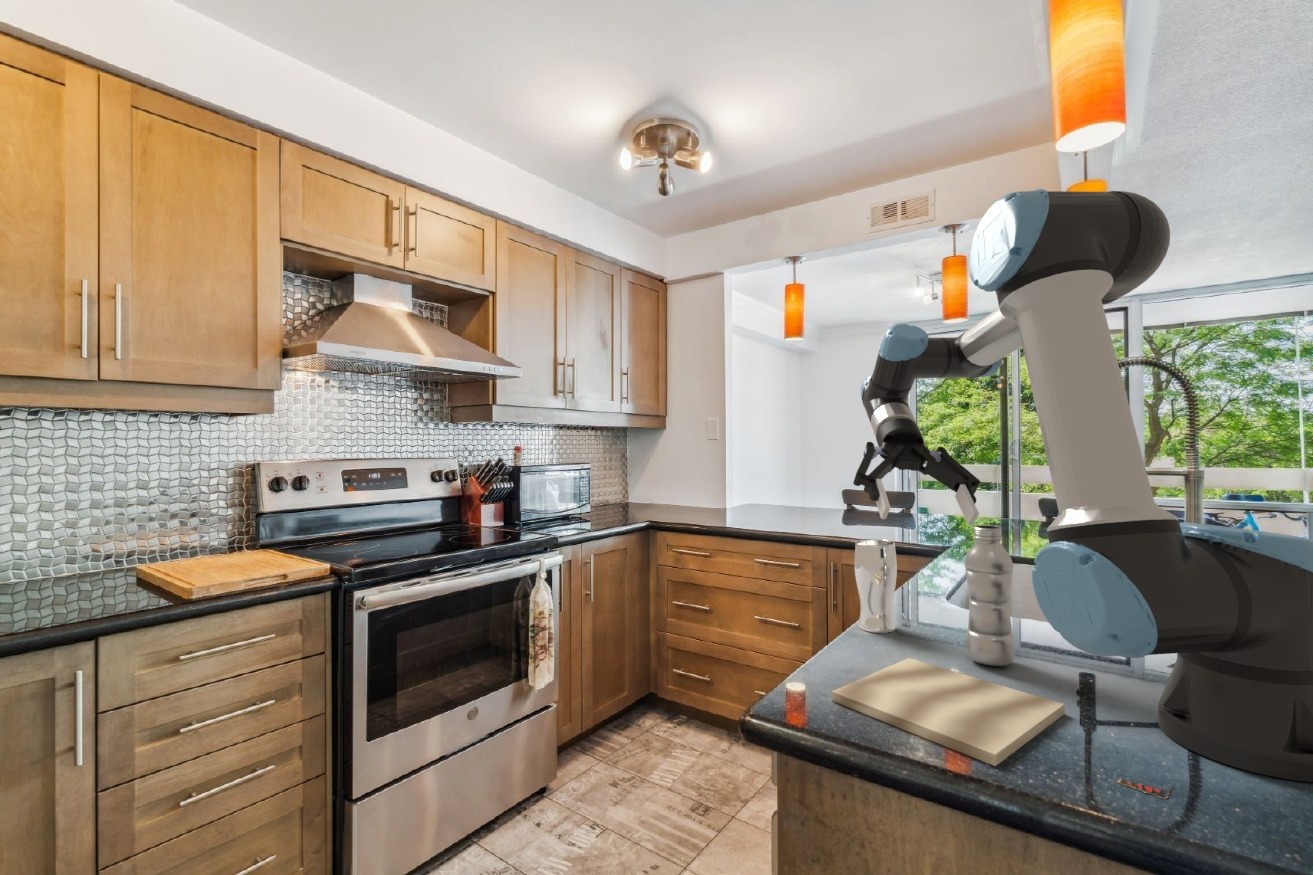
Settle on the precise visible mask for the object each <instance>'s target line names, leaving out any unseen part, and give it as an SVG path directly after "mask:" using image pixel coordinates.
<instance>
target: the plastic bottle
mask: <svg viewBox="0 0 1313 875" xmlns="http://www.w3.org/2000/svg"><path fill="white" fill-rule="evenodd" d="M1002 534H1003V533H1002V527H1001V526H999V525H991V524H978V525H973V535H972V536H973V537H972V539H973V540H975V541H974V542H975V543H974V544H972V546H971V547H970V548H969V550H968V551H967V553H966V554H965V557H964V560H963V562H964V563H963V564H964V569H965V570H964V571H965V575H966V581H967V590H968V591H967V592H968V597H969V598H968V599H969V600H968V602H969V605H968V606H969V608H968V610H969V611H968V622H967V623H968V624H967V629H966V635H965V647H966V652H967V654H968V656H969V657H970V658H971V660H972V661H974V662H977V663H979V664H981V665H985V666H991V667H1006V666H1009V665H1010V664H1011V663H1012V662H1014V661H1013V660H1014V659H1015V654H1016V649H1017V648H1016V642H1015V637H1014V634H1013V629H1012V621H1011V610H1010V607H1011V606H1010V601H1011V587H1012V586H1011V585H1012V580H1013V571H1014V563H1013V560H1012V557H1011V556H1010V554H1009V553H1008V551H1007V550H1006V549H1005V547H1004V546H1003V545H1002V543H1001V542H1002V541H1003V535H1002Z"/></svg>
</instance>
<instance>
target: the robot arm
mask: <svg viewBox="0 0 1313 875" xmlns="http://www.w3.org/2000/svg"><path fill="white" fill-rule="evenodd" d="M1169 224H1170V223H1169V221H1168V219H1167V216H1166V214H1165V212H1163V210H1162V209H1161V207H1159V205H1157V203H1156V202H1154V201H1152V200H1151V199H1149V198H1148V197H1146V196H1143V195H1141V194H1139V193H1136V192H1130V191H1125V190H1110V191H1081V190H1080V191H1078V190H1077V191H1069V190H1068V191H1065V190H1064V191H1060V190H1059V191H1056V190H1055V191H1048V190H1045V189H1042V188H1037V189H1034V190H1028V191H1027V190H1025V191H1024V190H1023V191H1013V192H1010V193H1007V194H1005V195H1003V196H1002V197H1000V198H998V199H997V200H996V201H995V202H994V203H993V204H991V205H990V207H988V209H987V210H986V211H985V214H984V215H983V216H982V218H981V219H980V221H979V223H978V225H977V227H976V229H975V231H974V232H975V233H974V235H973V237H972V240H971V244H970V249H969V254H968V272H969V276H970V279H971V281H972V284H973V285H974V286H976V287H977V288H979V289H980V290H983V291H984V292H988V293H990V292H995V294H996V299H997V303H998V307H997V308H996V309H994V310H993V311H992V312H990V313H989V314H988V315H986V316H984V317H983V318H982V319H981V320H980V321H978V322H977V323H975V324H974V325H973V326H971V327H970V328H969V329H967V330H966V331H964V332H963V333H962V334H960V335H958V336H956V337H955V336H954V337H953V336H951V337H949V336H948V337H929V335H928V333H927V332H926V331H925V330H924V329H922V328H920V327H918V326H916V325H909V324H906V323H899V324H895V325H892V326H890V327H888V329H887V330H886V331H885V335H884V336H883V338H882V341H881V344H880V346H879V349H878V354H877V356H876V357H877V358H876V360H875V366H874V368H873V372H872V374H869V375H868V377H866V378H865V380H864V381H863V382H862V384H861V387H860V395H861V396H860V397H861V401H862V404H863V407H864V409H865V412H866V415H867V417H868V419H869V420H868V421H869V423H870V425H871V428H872V431H873V434H874V437H875V439H876V443H877V446H875V444H874V443H873V442H872V441H867V442H866V443H865V444H866V445H865V447H864V451H863V457H862V460H861V463H860V464H859V466H858V468H857V471H856V473H855V477H854V479H853V482H852V483H853V485H854V486H855V487H859V486H864V487H863V491H864V492H865V493H867V494H868V498H869V499H870V501H872V502H875V503H876V507H877V511H878V513H879V517H880V519H881V520H887V517H888V515H889V512H890V510H891V505H890V501H889V499H888V495H887V493H886V490H885V487H884V483H883V481H882V479H883V478H884V477H885V476H886V475H887V474H889V473H891V472H892V471H893V470H894V469H895V468H896V469H898V470H900V471H907V470H908V471H915V472H916V471H917V472H919V473H921V474H923V475H924V476H927V475H928V476H930V477H931V478H932V479H934V480H936V481H938V482H939V483H940V484H942V485H944V486H946V487H947V488H948V489H950V490H952V491H953V492H955V495H954V498H955V500H956V502H957V504H958V506H959V508H960V511H961V513H962V515H963V517H964V520H965V521H966V523H967V525H968V526H974V524H975V523H976V520H977V518H978V517H979V515H980V512H979V510H978V508H977V507H976V503H977V498H976V496H975V494H976V492H977V490H978V488H979V486H980V485H981V480H980V479H978V478H977V476H976V475H974V474H973V473H972V472H971V471H969V470H968V469H967V468H966V467H964V465H962V464H961V463H960V462H958V460H956V459H955V458H954V457H953V456H951V455H950V454H949V452H948V451H947V449H946V448H945V447H944V446H938V447H937V449H936V450H935V449H933V450H932V449H931V450H930V449H929V448H928V447H926V445H925V442H924V441H925V440H924V438H923V437H924V436H923V434H922V433H921V431H920V428H919V427H918V424H917V423H918V422H917V421H916V419H915V417H914V415H913V413H912V411H911V408H910V406H909V403H908V397H909V394H910V391H911V390H912V387H913V385H914V382H915V380H916V379H964V378H965V379H967V378H968V379H979V378H986V377H991V376H993V375H994V376H995V374H996V373H997V372H998V371H999V368H1000V367H1002V364H1003V361H1004V360H1003V359H1004V358H1005V357H1006V356H1009V355H1010V354H1012V353H1013V352H1015V351H1017V350H1018V349H1020V348H1021V347H1022V350H1023V351H1022V352H1023V355H1024V356H1023V357H1024V360H1025V364H1026V365H1025V366H1026V369H1027V372H1028V373H1027V374H1028V378H1029V382H1030V387H1031V391H1032V396H1033V397H1032V398H1033V401H1034V405H1035V409H1036V410H1035V411H1036V414H1037V419H1038V424H1039V428H1040V433H1041V437H1042V441H1043V446H1044V452H1045V455H1046V461H1047V464H1048V465H1047V466H1048V470H1049V473H1050V478H1051V482H1052V487H1053V492H1054V497H1055V501H1056V505H1057V509H1058V514H1057V516H1056V518H1055V519H1054V520H1053V521H1052V522H1051V524H1050V525H1048V527H1047V528H1046V531H1047V537H1048V542H1049V544H1047V545H1046V546H1044V547H1043V548H1041V549H1040V550H1039V551H1038V553H1037V554H1036V555H1035V557H1034V560H1033V561H1034V564H1035V566H1033V567H1032V568H1031V583H1032V588H1033V593H1034V596H1035V599H1036V601H1037V604H1038V606H1039V608H1040V610H1041V612H1042V614H1043V616H1044V617H1045V619H1046V620H1047V622H1048V623H1049V625H1050V626H1051V627H1052V628H1053V629H1054V630H1055V631H1056V632H1057V633H1059V634H1060V636H1061V637H1062V638H1063V640H1065V641H1066V642H1067V643H1068V644H1070V645H1071V646H1073V647H1074V648H1076V649H1078V650H1079V651H1082V652H1084V653H1088V654H1090V655H1094V656H1100V657H1122V658H1130V659H1131V658H1132V659H1140V658H1145V657H1146V656H1150V655H1151V656H1155V655H1169V654H1170V655H1171V654H1176V661H1175V663H1174V665H1173V668H1172V670H1171V673H1170V675H1169V677H1168V680H1167V682H1166V683H1165V686H1164V689H1163V691H1162V694H1161V696H1160V699H1159V701H1158V705H1157V712H1158V714H1157V715H1158V719H1157V720H1158V721H1157V722H1158V727H1159V728H1160V730H1161V731H1162V732H1163V733H1164V734H1165V735H1166V736H1168V738H1170V739H1171V740H1173V741H1174V742H1176V743H1177V744H1179V745H1181V746H1182V747H1184V748H1186V749H1188V750H1190V751H1192V752H1194V753H1197V754H1198V755H1200V756H1203V757H1205V758H1208V759H1211V760H1213V761H1217V762H1219V763H1222V764H1225V765H1228V766H1231V767H1233V768H1238V769H1240V770H1244V771H1247V772H1252V773H1255V774H1260V775H1264V776H1269V777H1273V778H1278V779H1285V780H1291V781H1297V782H1298V781H1299V782H1305V783H1306V782H1308V783H1313V540H1311V539H1309V538H1307V537H1302V536H1297V535H1291V534H1285V533H1283V534H1282V533H1278V532H1277V533H1276V532H1269V531H1263V530H1254V529H1248V528H1247V529H1246V528H1241V527H1240V528H1239V527H1231V526H1225V525H1223V526H1222V525H1215V524H1206V523H1197V522H1185V521H1184V522H1180V520H1179V517H1178V516H1176V515H1175V514H1173V513H1171V512H1170V511H1168V510H1166V509H1164V508H1163V507H1161V506H1159V505H1158V504H1157V503H1156V502H1155V499H1154V494H1153V490H1152V487H1151V484H1150V483H1151V482H1150V478H1149V475H1148V473H1147V469H1146V468H1147V467H1146V464H1145V461H1144V457H1143V452H1142V449H1141V445H1140V442H1139V438H1138V435H1137V429H1136V426H1135V422H1134V418H1133V415H1132V411H1131V407H1130V404H1129V400H1128V396H1127V393H1126V392H1127V391H1126V388H1125V384H1124V382H1123V376H1122V374H1121V369H1120V366H1119V362H1118V358H1117V354H1116V350H1115V346H1114V343H1113V340H1112V339H1113V338H1112V336H1111V330H1110V328H1109V323H1108V320H1107V316H1106V312H1105V309H1104V306H1105V305H1108V304H1112V303H1114V302H1115V301H1116V300H1117V301H1118V299H1120V298H1122V297H1123V296H1125V295H1128V294H1130V293H1131V292H1132V291H1134V290H1136V289H1137V288H1139V287H1140V286H1141V285H1142V284H1144V283H1145V282H1146V281H1148V279H1150V278H1151V277H1152V276H1153V275H1154V274H1155V273H1156V271H1157V270H1158V269H1159V267H1161V265H1162V262H1163V261H1164V259H1165V257H1167V253H1168V250H1169V247H1170V244H1171V242H1170V241H1171V229H1170V225H1169ZM878 455H879V457H881V458H882V459H883V460H882V461H881V462H880V463H879V464H878V465H877V466H876V467H875V468H874V469H873V470H872V471H871V472H870V473H869V474H867V472H868V470H869V468H870V465H871V463H872V460H874V459H875V458H877V456H878ZM924 465H925V466H924Z"/></svg>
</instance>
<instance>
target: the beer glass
mask: <svg viewBox="0 0 1313 875" xmlns="http://www.w3.org/2000/svg"><path fill="white" fill-rule="evenodd" d="M854 543H855V545H854V546H855V547H854V548H855V549H854V576H855V582H856V587H857V592H858V597H859V602H860V614H859V620H858V628H860V630H862V631H865V632H868V633H874V634H889V633H888V632H890V633H893V632H895V631H896V624H895V620H894V615H893V614H894V613H893V606H894V605H893V602H894V596H895V592H896V585H897V584H896V583H897V578H898V577H897V576H898V572H897V571H898V564H897V553H896V552H897V551H896V543H895V542H894V541H892V540H889V539H887V540H886V539H877V538H867V539H866V538H865V539H858V540H856V541H855V542H854Z"/></svg>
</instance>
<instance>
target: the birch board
mask: <svg viewBox="0 0 1313 875" xmlns="http://www.w3.org/2000/svg"><path fill="white" fill-rule="evenodd" d="M831 702H833V703H836V704H839V705H842V706H844V707H847V708H850V709H851V710H854V711H857V712H859V713H862V714H864V715H867V716H870V717H871V718H874V719H877V720H879V721H880V722H881V721H882V722H883V723H887V724H889V725H892V726H894V727H896V728H899V729H902V730H904V731H906V732H909V733H912V734H914V735H916V736H919V737H921V738H924V739H926V740H929V741H931V742H934V743H935V744H936V743H937V744H938V745H942V746H943V747H946V748H949V749H952V750H954V751H957V752H958V753H961V754H963V755H966V756H969V757H971V758H973V759H976V760H978V761H981V762H983V763H986V764H988V765H991V766H994V767H997V766H998V765H999V764H1001V763H1002V762H1004V760H1006V759H1007V758H1008V757H1009V756H1011V755H1012V754H1014V753H1015V752H1016V751H1018V750H1019V749H1021V747H1023V746H1024V745H1026V744H1027V743H1028V742H1030V741H1031V740H1032V739H1034V738H1035V737H1036V736H1038V735H1039V734H1040V733H1042V732H1043V731H1044V730H1046V729H1047V728H1049V727H1050V726H1051V725H1052V724H1054V723H1055V722H1056V721H1058V720H1059V719H1060V718H1062V717H1063V716H1065V703H1062V702H1059V701H1055V700H1052V699H1048V698H1045V697H1041V696H1039V695H1035V694H1031V693H1029V692H1024V691H1020V690H1018V689H1014V688H1011V687H1009V686H1005V685H1002V684H998V683H996V682H995V683H994V682H991V681H987V680H985V679H980V678H977V677H974V676H970V675H967V674H964V673H960V672H957V671H954V670H951V669H948V668H944V667H940V666H938V665H937V666H936V665H934V664H930V663H928V662H924V661H920V660H917V659H914V658H911V657H908V658H906V659H903V660H901V661H898V662H895V663H893V664H892V665H889V666H887V667H885V668H882V669H880V670H878V671H876V672H873V673H870V674H869V675H866V676H864V677H862V678H860V679H857V680H855V681H853V682H851V683H847V684H846V685H843V686H840V687H839V688H836V689H834V690H832V691H831Z"/></svg>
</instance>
